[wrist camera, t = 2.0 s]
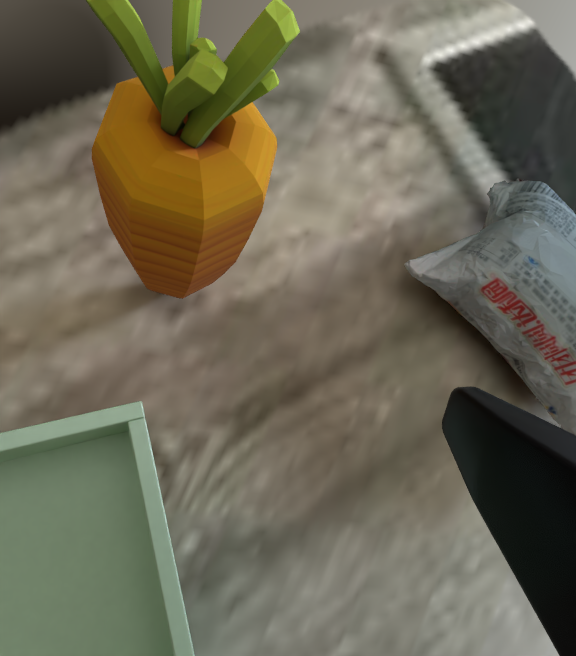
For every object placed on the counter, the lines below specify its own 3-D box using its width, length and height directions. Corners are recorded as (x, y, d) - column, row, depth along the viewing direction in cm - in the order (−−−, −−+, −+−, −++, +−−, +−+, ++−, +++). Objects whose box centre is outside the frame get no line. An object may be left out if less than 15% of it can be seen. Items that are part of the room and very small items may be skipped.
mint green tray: (204, 708, 19) (217, 765, 15) (-160, 864, 15) (-257, 987, 12) (142, 413, 21) (141, 400, 18) (-185, 492, 18) (-273, 495, 14)
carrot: (90, 292, 22) (-10, -28, 8) (162, 214, 24) (180, -154, 10) (183, 359, 22) (241, 161, 8) (248, 277, 24) (383, 3, 10)
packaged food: (544, 454, 26) (632, 447, 21) (386, 278, 26) (437, 235, 21) (622, 347, 29) (712, 321, 24) (480, 193, 29) (542, 140, 25)
